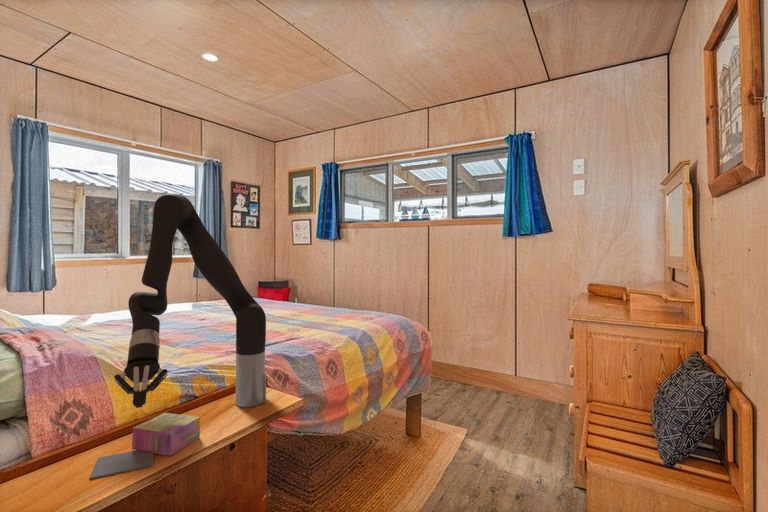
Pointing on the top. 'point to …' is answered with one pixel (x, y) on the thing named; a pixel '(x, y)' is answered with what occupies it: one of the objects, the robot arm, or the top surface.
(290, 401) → the top surface
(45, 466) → the top surface
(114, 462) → the mat
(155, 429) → the box
